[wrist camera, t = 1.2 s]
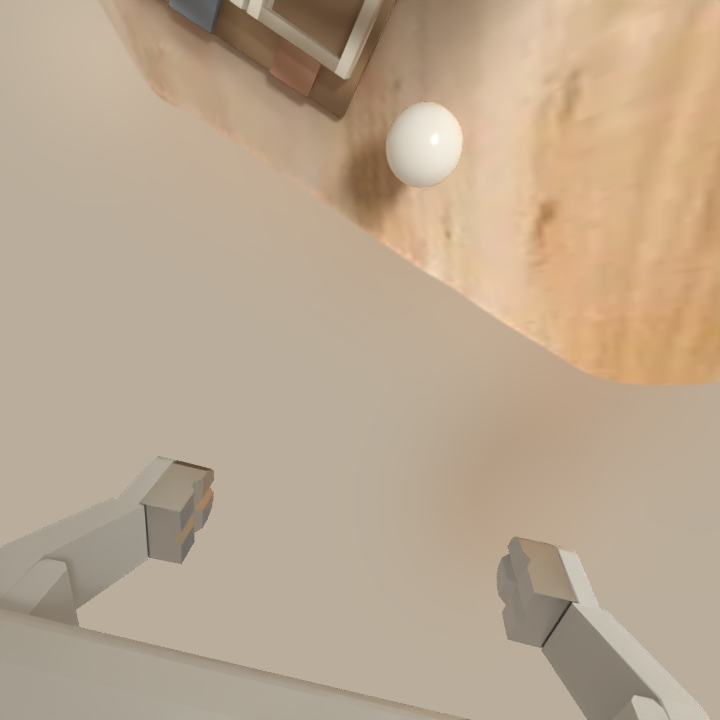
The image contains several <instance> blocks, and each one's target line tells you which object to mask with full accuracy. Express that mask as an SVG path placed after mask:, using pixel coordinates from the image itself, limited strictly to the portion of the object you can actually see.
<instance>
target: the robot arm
mask: <svg viewBox="0 0 720 720" xmlns="http://www.w3.org/2000/svg"><path fill="white" fill-rule="evenodd" d="M213 480H214V471H213V470H212V469H210V468H206V467H202V466H197V465H194V464H190V463H186V462H182V461H178V460H172V459H168V458H164V457H160V456H158V457H156V458H154V459H153V460H152V461H151V462H150V463H149V464H148V465H147V466H146V467H145V469H144V470H143V471H142V472H141V473H140V474H139V475H138V476H137V478H136V479H135V480H134V481H133V482H132V483H131V484H130V485H129V487H128V488H127V489H126V490H125V491H124V492H123V493H122V494H121V495H120V497H119V498H118V499H115V498H110V499H108V500H106V501H104V502H101V503H99V504H97V505H94V506H92V507H90V508H88V509H85V510H83V511H81V512H78V513H76V514H74V515H72V516H69V517H67V518H65V519H63V520H60V521H58V522H56V523H53V524H51V525H49V526H47V527H44V528H42V529H40V530H37V531H35V532H33V533H31V534H28V535H26V536H24V537H22V538H19V539H17V540H15V541H13V542H10V543H8V544H6V545H3V546H2V547H1V548H0V720H469V719H465V718H461V717H457V716H452V715H448V714H444V713H440V712H435V711H431V710H427V709H423V708H419V707H414V706H410V705H406V704H402V703H398V702H393V701H389V700H385V699H381V698H377V697H372V696H368V695H364V694H359V693H355V692H351V691H347V690H342V689H338V688H334V687H330V686H326V685H322V684H317V683H313V682H309V681H304V680H300V679H296V678H292V677H288V676H283V675H279V674H275V673H271V672H266V671H262V670H258V669H254V668H249V667H245V666H241V665H237V664H233V663H228V662H224V661H220V660H216V659H211V658H207V657H203V656H199V655H195V654H190V653H186V652H182V651H178V650H174V649H169V648H165V647H161V646H157V645H153V644H148V643H144V642H140V641H135V640H131V639H127V638H123V637H119V636H115V635H110V634H106V633H101V632H97V631H94V630H89V629H85V628H81V627H79V622H78V618H77V613H76V609H77V608H79V607H80V606H82V605H83V604H85V603H86V602H88V601H89V600H91V599H92V598H93V597H95V596H96V595H98V594H99V593H101V592H102V591H103V590H104V589H106V588H108V587H109V586H111V585H112V584H113V583H115V582H116V581H118V580H119V579H121V578H122V577H124V576H125V575H126V574H128V573H129V572H131V571H132V570H134V569H135V568H136V567H138V566H139V565H141V564H142V563H144V562H145V561H147V560H148V557H149V558H154V559H159V560H165V561H169V562H174V563H179V564H182V562H183V560H184V559H185V557H186V555H187V554H188V552H189V550H190V548H191V547H192V545H193V543H194V532H196V531H198V530H199V529H201V528H203V526H204V524H205V522H206V521H207V519H208V516H209V513H210V511H211V508H212V502H213V491H212V490H211V488H210V485H211V484H212V482H213ZM508 549H509V553H510V554H508V555H506V556H504V557H503V558H502V559H501V561H500V564H499V566H498V572H497V588H498V594H499V596H500V598H501V599H502V600H503V602H504V603H505V604H506V606H505V608H504V610H503V612H502V613H503V619H504V624H505V629H506V634H507V639H508V640H512V641H516V642H520V643H524V644H528V645H531V646H536V647H539V648H542V652H543V653H544V655H545V656H546V658H547V659H548V661H549V662H550V664H551V665H552V667H553V668H554V670H555V671H556V673H557V674H558V676H559V677H560V679H561V680H562V682H563V683H564V685H565V686H566V688H567V689H568V691H569V693H570V694H571V696H572V697H573V698H574V700H575V701H576V703H577V705H578V706H579V708H580V709H581V710H582V712H583V714H584V715H585V717H586V718H587V720H709V718H708V716H707V714H706V712H705V710H704V709H703V708H702V707H701V706H700V705H699V704H698V703H697V702H696V701H695V700H694V699H693V698H692V697H691V696H690V695H689V694H688V693H687V692H686V691H685V690H684V689H683V688H682V687H681V686H680V685H679V684H678V683H677V682H676V681H675V679H673V677H672V676H671V675H669V673H668V672H667V671H666V670H665V669H664V668H663V667H662V666H661V665H660V664H659V663H658V662H657V661H656V660H655V659H654V658H653V657H652V656H651V655H650V654H649V653H648V652H647V651H646V650H645V649H644V648H643V647H642V646H641V645H640V644H639V643H638V642H637V641H636V640H635V639H634V638H633V637H632V636H631V635H630V634H629V633H628V632H627V631H626V630H625V629H624V628H623V627H622V626H621V625H620V624H619V623H618V622H617V621H616V620H615V618H614V617H612V616H611V614H610V613H609V612H608V611H607V610H603V609H600V606H599V604H598V602H597V600H596V597H595V595H594V592H593V590H592V588H591V586H590V583H589V581H588V578H587V576H586V574H585V571H584V569H583V567H582V564H581V562H580V560H579V557H578V555H577V553H576V552H575V551H574V550H573V549H571V548H566V547H561V546H557V545H551V544H548V543H543V542H538V541H533V540H529V539H524V538H519V537H514V538H513V539H511V541H510V543H509V545H508Z"/></svg>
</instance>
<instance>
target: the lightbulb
mask: <svg viewBox="0 0 720 720" xmlns="http://www.w3.org/2000/svg"><path fill="white" fill-rule="evenodd" d="M462 148H463V136H462V130H461V127H460V125H459V122H458V120H457V119H456V117H455V116H454V115H453V113H452V112H451V111H450V110H448V109H447V108H446V107H444V106H442V105H440V104H437V103H433V102H420V103H416V104H414V105H411V106H409V107H408V108H406V109H405V110H403V111H402V112H401V113H400V114H399V115H398V116H397V117H396V118H395V120H394V121H393V123H392V125H391V127H390V129H389V131H388V134H387V139H386V157H387V161H388V164H389V167H390V169H391V170H392V172H393V174H394V175H395V176H396V177H397V178H398V179H399V180H400V181H401V182H403V183H404V184H406V185H408V186H411V187H415V188H428V187H432V186H435V185H437V184H439V183H441V182H442V181H444V180H445V179H446V178H448V177H449V176H450V175H451V173H452V172H453V171H454V169H455V168H456V166H457V164H458V162H459V160H460V157H461V154H462Z"/></svg>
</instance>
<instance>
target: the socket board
mask: <svg viewBox="0 0 720 720" xmlns="http://www.w3.org/2000/svg"><path fill="white" fill-rule="evenodd" d="M164 1H166V2H167V3H169V6H170V7H171V8H173V9H174V10H176V11H177V12H179V13H180V14H182V15H183V16H185V17H186V18H188V19H189V20H191V21H192V22H194V23H195V24H197V25H198V26H200V27H201V28H203V29H204V30H206V31H207V32H209V33H212V34H215V35H217V36H218V37H220V38H221V39H223V40H224V41H226V42H227V43H229V44H230V45H232V46H233V47H235V48H236V49H238V50H239V51H241V52H242V53H244V54H245V55H247V56H248V57H250V58H251V59H253V60H254V61H256V62H257V63H259V64H260V65H262V66H263V67H265V68H266V69H268V70H269V71H270V72H269V73H271V74H272V75H274V76H275V77H277V78H278V79H280V80H281V81H283V82H284V83H286V84H287V85H289V86H290V87H292V88H293V89H295V90H296V91H298V92H299V93H301V94H302V95H304V96H305V97H307V98H309V97H310V98H311V99H313V100H314V101H316V102H317V103H319V104H320V105H322V106H323V107H325V108H326V109H328V110H329V111H331V112H332V113H334V114H335V115H337V116H338V117H340V118H343V117H344V114H345V112H346V110H347V108H348V106H349V103H350V101H351V99H352V97H353V95H354V92H355V90H356V88H357V86H358V84H359V81H360V79H361V77H362V75H363V73H364V71H365V68H366V66H367V64H368V62H369V60H370V57H371V55H372V53H373V51H374V49H375V46H376V44H377V42H378V40H379V38H380V35H381V33H382V31H383V29H384V27H385V24H386V22H387V20H388V18H389V16H390V13H391V11H392V9H393V7H394V5H395V3H396V0H164Z"/></svg>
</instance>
